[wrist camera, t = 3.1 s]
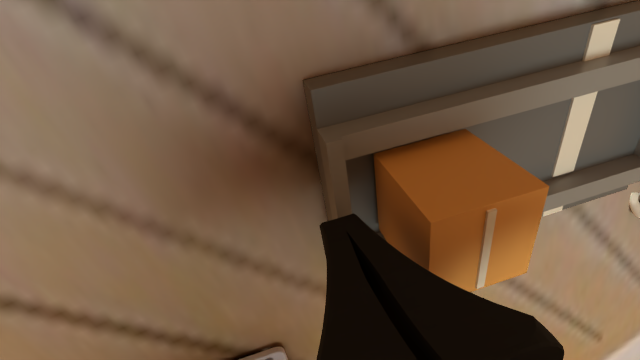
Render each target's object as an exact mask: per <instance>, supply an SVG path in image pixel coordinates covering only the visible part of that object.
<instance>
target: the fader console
mask: <svg viewBox="0 0 640 360" xmlns="http://www.w3.org/2000/svg"><path fill="white" fill-rule="evenodd" d="M303 84H304V90H305V95H306V101H307V107H308V112H309V118H310V123H311V129H312V135H313V140H314V146H315V151H316V157H317V162H318V168H319V174H320V179H321V185H322V190H323V196H324V201H325V207H326V213H327V218H328V221H330V220H333V219H337V218H340V217H343V216H347V215H350V214H356V215H357V216H358V217H359V218H360V219H361V220H362V221H363V222H364V223H366V224H367V225H368V226H369V227H370V228H371V229H372V230H373V231H375V232H376V233H377V234H378V235H379V236H380V237H382V238H383V239H384V240H385V241H386V239H385V238H384V236H383V234H382V233H381V231H380V230H379V222H378V209H377V195H376V182H375V168H374V154H375V153H378V152H382V151H386V150H389V149H393V148H397V147H400V146H404V145H408V144H411V143H415V142H419V141H422V140H426V139H429V138H433V137H437V136H440V135H444V134H448V133H451V132H455V131H459V130H462V129H466V130H468V131H469V132H471V133H472V134H474V135H475V136H477V137H478V138H480V139H481V140H482V141H484V142H485V143H487V144H488V145H490V146H491V147H493V148H494V149H496V150H497V151H499V152H500V153H502V154H503V155H504V156H506V157H507V158H509V159H510V160H512V161H513V162H515V163H516V164H518V165H519V166H521V167H522V168H523V169H525V170H526V171H528V172H529V173H531V174H532V175H534V176H535V177H537V178H538V179H540V180H541V181H543V182H544V183H545V184H547V185H548V186H549V190H548V194H547V197H546V201H545V205H544V209H543V212H542V217H543V216H546V215H549V214H553V213H556V212H559V211H562V210H563V209H566V208H569V207H572V206H576V205H579V204H582V203H585V202H588V201H591V200H594V199H597V198H600V197H604V196H607V195H610V194H613V193H616V192H619V191H622V190H625V189H627V187H628V185H629V184H633V183H636V182H639V181H640V0H638V1H634V2H629V3H625V4H621V5H617V6H613V7H608V8H604V9H600V10H596V11H592V12H587V13H583V14H579V15H575V16H571V17H566V18H562V19H558V20H554V21H550V22H545V23H541V24H537V25H533V26H529V27H524V28H520V29H516V30H512V31H508V32H503V33H499V34H495V35H491V36H487V37H482V38H478V39H474V40H470V41H466V42H461V43H457V44H453V45H449V46H445V47H440V48H436V49H432V50H428V51H424V52H419V53H415V54H411V55H407V56H403V57H398V58H394V59H390V60H386V61H382V62H377V63H373V64H369V65H365V66H361V67H356V68H352V69H348V70H344V71H340V72H335V73H331V74H327V75H323V76H319V77H314V78H310V79H306V80H303Z"/></svg>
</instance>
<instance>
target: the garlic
mask: <svg viewBox="0 0 640 360" xmlns="http://www.w3.org/2000/svg"><path fill="white" fill-rule="evenodd" d="M639 195H640V193H638V192H636V193H631V196H630V208H631V211H632V213H633V214H634V215H635V216H636V217H638V218H639V219H640V203H639V201H638V197H639Z"/></svg>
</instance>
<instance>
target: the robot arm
mask: <svg viewBox="0 0 640 360" xmlns="http://www.w3.org/2000/svg"><path fill="white" fill-rule="evenodd" d="M320 230H321V235H322V240H323V245H324V250H325V255H326V260H327V292H326V305H325V314H324V322H323V329H322V335H321V341H320V346H319V350H318V355H317V360H563V357H564V349H563V346H562V345H561V344H560V343H559V342H558V340H557V339H556V338H555V337H554V336H553V335H552V334H551V333H550V332H549V331H548V330H547V329H546V328H545V327H544V326H543V325H542V324H541V323H540V322H539V321H537V320H536V319H535V318H534V317H533V316H531V315H528V314H525V313H522V312H519V311H516V310H513V309H510V308H508V307H505V306H502V305H499V304H496V303H494V302H491V301H489V300H486V299H484V298H481V297H479V296H477V295H475V294H473V293H470V292H468V291H466V290H464V289H462V288H460V287H458V286H456V285H453V284H451V283H450V282H448V281H446V280H444V279H442V278H440V277H439V276H437V275H435V274H433V273H432V272H430V271H428V270H426V269H425V268H423V267H422V266H420V265H419V264H417V263H415V262H414V261H412V260H411V259H410V258H408V257H407V256H405V255H404V254H402V253H401V252H400V251H398V250H397V249H396V248H394V247H393V246H392V245H390V244H389V243H388V242H387V241H385V240H384V239H383V238H382V237H380V236H379V235H378V234H377V233H376V232H375V231H373V230H372V229H371V228H370V227H369V226H368V225H367V224H366V223H364V222H363V221H362V220H361V219H360V218H359V217H358V216H357V215H356V214H350V215H347V216H343V217H340V218H337V219H333V220H330V221H327V222H323V223H322V224H321V225H320ZM238 360H288V358H287V355H286V352H285V350H284V348H282V347H274V348H271V349H268V350H265V351H262V352H259V353H256V354H253V355H250V356H247V357H244V358H241V359H238Z"/></svg>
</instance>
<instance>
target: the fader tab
mask: <svg viewBox="0 0 640 360" xmlns="http://www.w3.org/2000/svg"><path fill="white" fill-rule="evenodd" d="M374 168H375V182H376V195H377V209H378V222H379V230H380V231H381V233H382V234H383V236H384V238H385V239H386V241H387V242H388V243H389V244H390V245H392V246H393V247H394V248H396V249H397V250H398V251H400V252H401V253H402V254H404V255H405V256H407V257H408V258H410V259H411V260H412V261H414V262H415V263H417V264H419V265H420V266H422V267H423V268H425V269H426V270H428V271H430V272H432V273H433V274H435V275H437V276H439V277H440V278H442V279H444V280H446V281H448V282H450V283H451V284H453V285H456V286H458V287H460V288H462V289H464V290H466V291H468V292H472V291H475V290H478V289H481V288H484V287H487V286H490V285H492V284H495V283H498V282H501V281H504V280H507V279H510V278H513V277H516V276H519V275H522V274H524V273H526V272H527V269H528V265H529V261H530V257H531V254H532V250H533V246H534V242H535V239H536V235H537V231H538V227H539V224H540V220H541V216H542V212H543V209H544V205H545V201H546V197H547V194H548V190H549V186H548V185H547V184H545V183H544V182H543V181H541V180H540V179H538V178H537V177H535V176H534V175H532V174H531V173H529V172H528V171H526V170H525V169H523V168H522V167H521V166H519V165H518V164H516V163H515V162H513V161H512V160H510V159H509V158H507V157H506V156H504V155H503V154H502V153H500V152H499V151H497V150H496V149H494V148H493V147H491V146H490V145H488V144H487V143H485V142H484V141H482V140H481V139H480V138H478V137H477V136H475V135H474V134H472V133H471V132H469V131H468V130H466V129H462V130H459V131H455V132H451V133H448V134H444V135H440V136H437V137H433V138H429V139H426V140H422V141H419V142H415V143H411V144H408V145H404V146H400V147H397V148H393V149H389V150H386V151H382V152H378V153H375V154H374Z"/></svg>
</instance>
